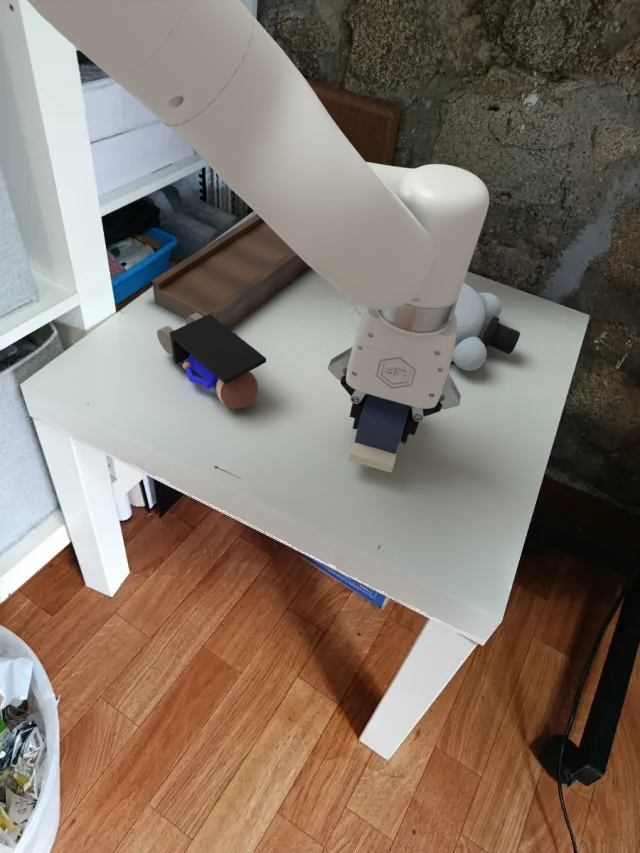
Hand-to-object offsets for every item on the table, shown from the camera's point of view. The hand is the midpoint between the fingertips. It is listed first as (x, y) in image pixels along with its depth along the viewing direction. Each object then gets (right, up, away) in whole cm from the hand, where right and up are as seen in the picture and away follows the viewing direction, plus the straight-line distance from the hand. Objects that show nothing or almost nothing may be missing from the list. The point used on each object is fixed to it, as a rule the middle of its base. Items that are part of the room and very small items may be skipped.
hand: (381, 427), depth 75 cm
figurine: (+10, +12, +17) cm, 23 cm away
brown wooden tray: (-18, +23, +23) cm, 37 cm away
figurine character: (-21, +6, +7) cm, 23 cm away
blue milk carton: (0, 0, 0) cm, 0 cm away
